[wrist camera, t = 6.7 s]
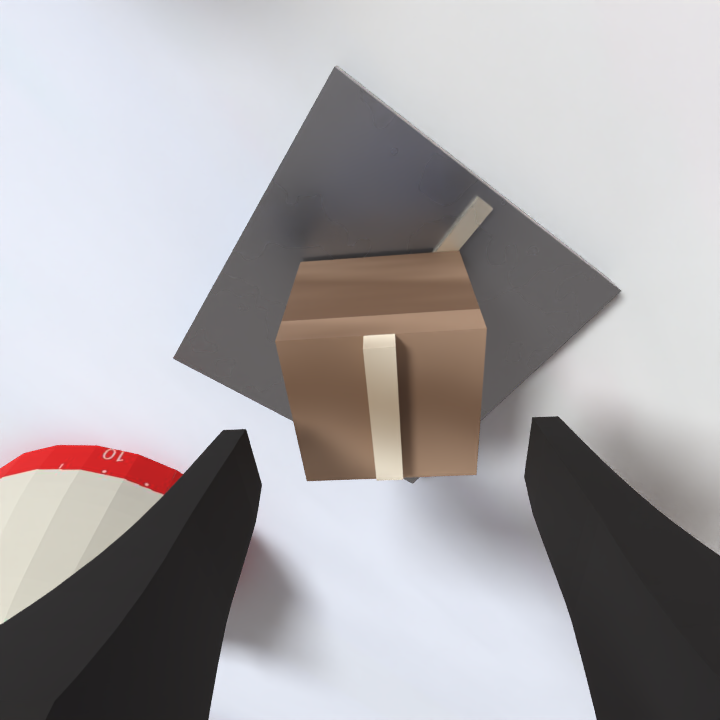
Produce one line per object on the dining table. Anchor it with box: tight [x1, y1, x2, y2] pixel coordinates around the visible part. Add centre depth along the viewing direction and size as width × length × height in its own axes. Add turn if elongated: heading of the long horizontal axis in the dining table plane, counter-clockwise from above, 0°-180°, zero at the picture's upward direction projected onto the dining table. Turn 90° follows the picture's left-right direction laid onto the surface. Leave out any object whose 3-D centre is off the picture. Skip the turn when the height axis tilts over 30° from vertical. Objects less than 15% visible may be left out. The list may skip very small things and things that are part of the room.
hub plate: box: [173, 66, 621, 483], centre depth 17 cm, size 12×12×4 cm
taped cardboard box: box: [275, 251, 487, 481], centre depth 16 cm, size 5×5×6 cm
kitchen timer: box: [0, 445, 183, 624], centre depth 21 cm, size 14×14×15 cm
